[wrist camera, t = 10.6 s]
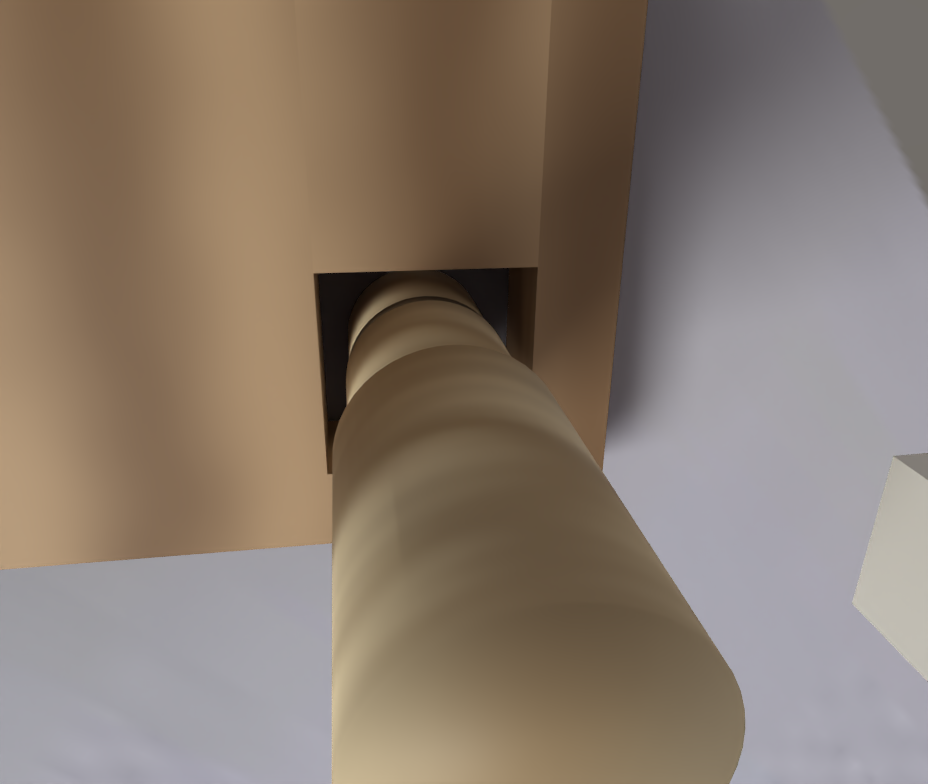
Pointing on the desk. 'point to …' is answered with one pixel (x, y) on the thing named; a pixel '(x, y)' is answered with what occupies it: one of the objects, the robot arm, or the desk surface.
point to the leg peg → (498, 578)
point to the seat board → (278, 238)
